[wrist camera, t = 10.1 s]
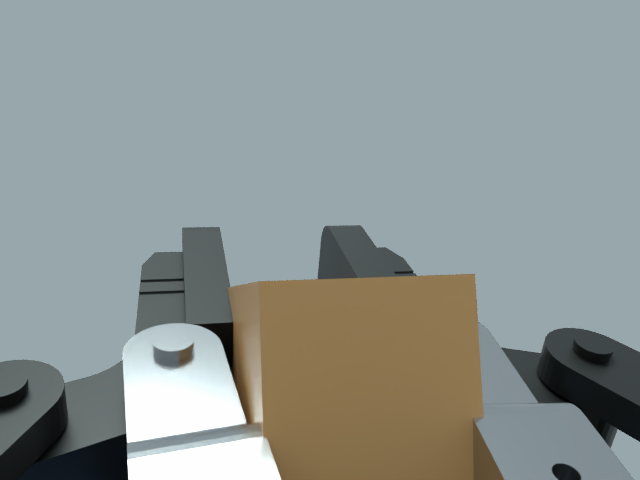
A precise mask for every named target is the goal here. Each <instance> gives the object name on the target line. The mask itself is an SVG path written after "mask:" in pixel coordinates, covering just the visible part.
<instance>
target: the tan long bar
mask: <svg viewBox="0 0 640 480" xmlns="http://www.w3.org/2000/svg"><path fill="white" fill-rule="evenodd" d="M228 293H229V299H230V305H231V311H232V317H233V360H232V377H233V380H234V384H235V387H236V390H237V393H238V396H239V400H240V403H241V406H242V409H243V412H244V416H245V419H246V422H247V424H250V423H257V422H258V423H259V424H260V426H261V429H262V433H263V438H267V440H268V443H269V446H270V449H271V452H272V455H273V458H274V461H275V464H276V467H277V470H278V472H279V475H280V478H281V480H474V468H473V418H475V417H484V412H483V396H482V380H481V364H480V348H479V332H478V316H477V300H476V284H475V274H460V275H431V276H401V277H372V278H344V279H315V280H287V281H259V282H253V283H248V284H244V285H239V286H233V287H228Z"/></svg>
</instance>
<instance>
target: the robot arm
mask: <svg viewBox="0 0 640 480" xmlns="http://www.w3.org/2000/svg"><path fill="white" fill-rule="evenodd" d="M182 243H183V245H182V246H183V252H157V253H154V254H153V255H152V256H151V257H150V258H149V259H148V260H147V261H146V262H145V263H144V264H143V265H142V271H141V283H140V291H139V301H138V310H137V320H136V330H135V336H133V337H132V338H131V339H130V340H129V341H128V342H127V344H126V345H125V347H124V349H123V360H122V361H120V362H119V363H118V364H116V365H115V366H113V367H111V368H109V369H107V370H105V371H103V372H101V373H98V374H95V375H92V376H89V377H86V378H82V379H78V380H74V381H71V382H67V383H64V380H63V376H62V375H61V373H60V372H59V371H58V370H57V369H56V368H54V367H53V366H51V365H49V364H46V363H43V362H38V361H32V360H12V361H4V362H0V480H281V478H280V475H279V472H278V470H277V467H276V464H275V461H274V458H273V455H272V452H271V449H270V446H269V443H268V440H267V438H263V433H262V429H261V426H260V424H259V423H258V422H257V423H250V424H247V422H246V419H245V416H244V412H243V409H242V406H241V403H240V400H239V396H238V393H237V390H236V387H235V384H234V380H233V377H232V360H233V317H232V311H231V305H230V299H229V293H228V287H230V283H229V278H228V273H227V266H226V261H225V255H224V249H223V244H222V239H221V233H220V228H219V227H196V228H182ZM401 276H417V275H416V274H413V270H412V269H411V267H410V266H409V265H408V264H407V262H406V261H405V260H404V258H402V257H400V256H399V255H397V254H395V253H393V252H392V251H390V250H389V249H387V248H377V247H376V246H375V245H374V243H373V242H372V240H371V239H370V238H369V236H368V235H367V233H366V232H365V230H364V229H363V228H362V227H361V226H360V225H358V226H325V227H324V229H323V232H322V237H321V249H320V260H319V270H318V279H344V278H372V277H401ZM478 332H479V348H480V364H481V380H482V396H483V412H484V417H475V418H473V468H474V480H634V479H633V477H632V476H631V475H630V473H629V472H628V471H627V470H626V468H625V467H624V466H623V464H622V463H621V462H620V460H619V459H618V458H617V456H616V455H615V454H614V453H613V451H612V450H611V449H610V448H611V446H612V443H613V440H614V437H615V435H616V432H617V429H619V430H621V431H622V432H624V433H626V434H627V435H629V436H631V437H633V438H634V439H636V440H638V441H639V442H640V352H638V351H636V350H634V349H632V348H630V347H628V346H626V345H623V344H621V343H619V342H617V341H615V340H613V339H611V338H609V337H606V336H604V335H601V334H598V333H596V332H592V331H588V330H583V329H576V328H563V329H557V330H554V331H552V332H550V333H549V334H548V335H547V336H546V338H545V342H544V345H543V349H542V352H541V353H535V352H527V351H521V350H513V349H506V348H501V347H500V346H499V344H498V343H497V341H496V340H495V338H494V337H493V336H492V334H491V333H490V332H489V330H488V329H487V328H486V327H485V326H484V325H482V324H481V323H479V322H478Z"/></svg>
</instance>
